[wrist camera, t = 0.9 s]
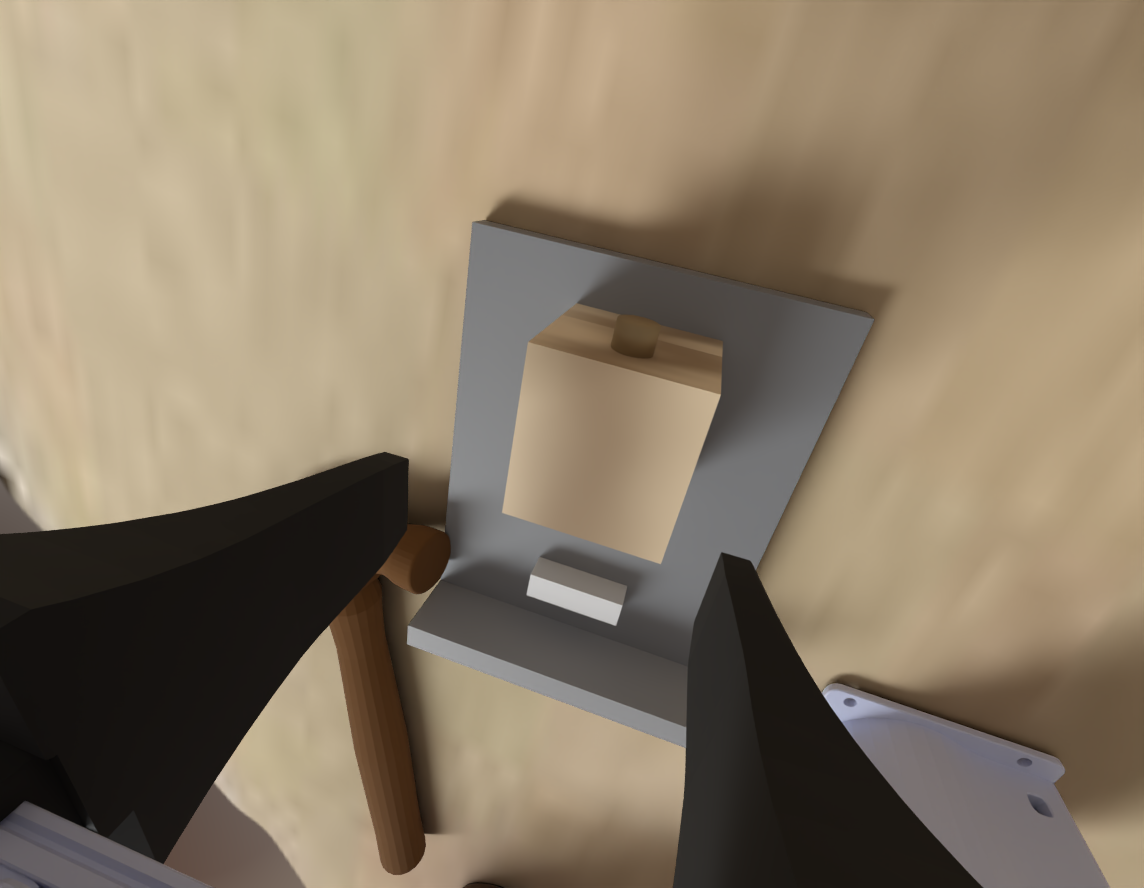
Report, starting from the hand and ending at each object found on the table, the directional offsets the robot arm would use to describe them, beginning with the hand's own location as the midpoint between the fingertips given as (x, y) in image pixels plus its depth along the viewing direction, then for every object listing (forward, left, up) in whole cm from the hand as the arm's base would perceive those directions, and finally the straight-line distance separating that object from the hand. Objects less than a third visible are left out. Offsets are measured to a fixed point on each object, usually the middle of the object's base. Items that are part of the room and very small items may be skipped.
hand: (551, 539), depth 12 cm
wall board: (0, +4, -9) cm, 10 cm away
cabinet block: (0, 0, -8) cm, 8 cm away
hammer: (+10, +23, -10) cm, 27 cm away
